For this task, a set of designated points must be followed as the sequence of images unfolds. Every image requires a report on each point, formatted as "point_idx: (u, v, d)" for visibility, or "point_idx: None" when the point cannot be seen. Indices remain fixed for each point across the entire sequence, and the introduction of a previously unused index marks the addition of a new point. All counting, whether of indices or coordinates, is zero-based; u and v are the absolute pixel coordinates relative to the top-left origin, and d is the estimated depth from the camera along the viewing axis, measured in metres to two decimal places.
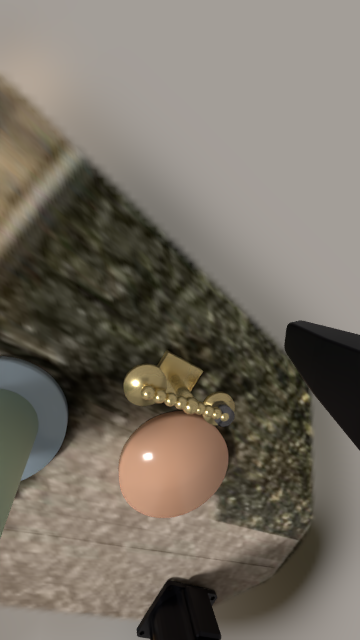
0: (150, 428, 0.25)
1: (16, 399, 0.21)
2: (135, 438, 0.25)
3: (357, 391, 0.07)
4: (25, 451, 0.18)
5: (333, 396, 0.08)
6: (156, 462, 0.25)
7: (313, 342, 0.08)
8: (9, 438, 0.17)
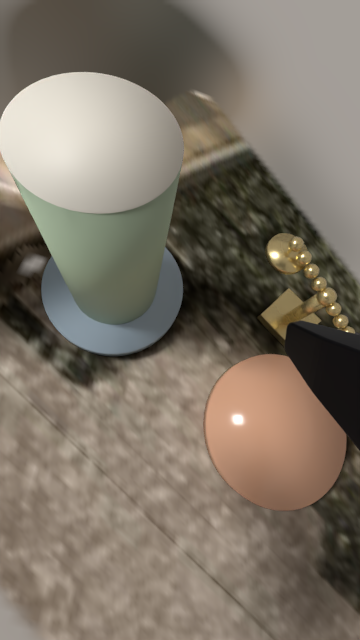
0: (259, 356, 0.21)
1: None
2: (239, 362, 0.21)
3: (357, 391, 0.07)
4: None
5: (333, 396, 0.08)
6: (257, 403, 0.20)
7: (313, 342, 0.08)
8: None
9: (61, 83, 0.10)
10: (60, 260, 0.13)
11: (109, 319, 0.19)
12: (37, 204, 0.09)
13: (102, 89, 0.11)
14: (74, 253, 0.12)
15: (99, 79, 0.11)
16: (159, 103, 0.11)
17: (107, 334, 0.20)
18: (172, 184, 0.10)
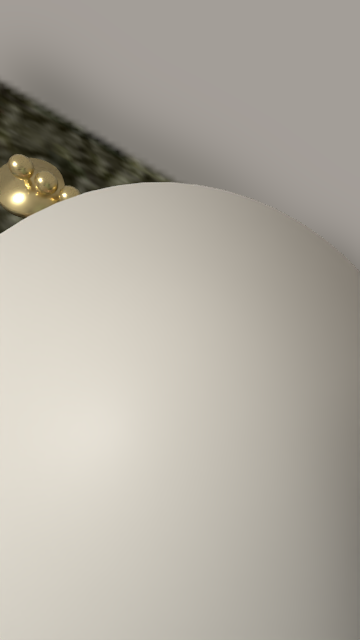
0: None
1: None
2: None
3: None
4: None
5: None
6: None
7: None
8: None
9: (85, 224, 0.04)
10: None
11: None
12: None
13: (194, 232, 0.04)
14: None
15: (183, 201, 0.04)
16: (338, 259, 0.04)
17: None
18: None
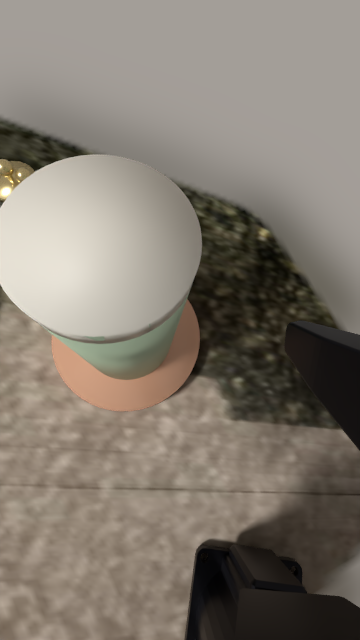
0: None
1: None
2: None
3: (357, 391, 0.07)
4: None
5: (333, 396, 0.08)
6: None
7: (313, 342, 0.08)
8: None
9: (48, 178, 0.09)
10: (77, 353, 0.12)
11: (131, 377, 0.18)
12: (51, 330, 0.08)
13: (94, 174, 0.09)
14: (95, 354, 0.10)
15: (88, 162, 0.09)
16: (161, 176, 0.09)
17: None
18: None
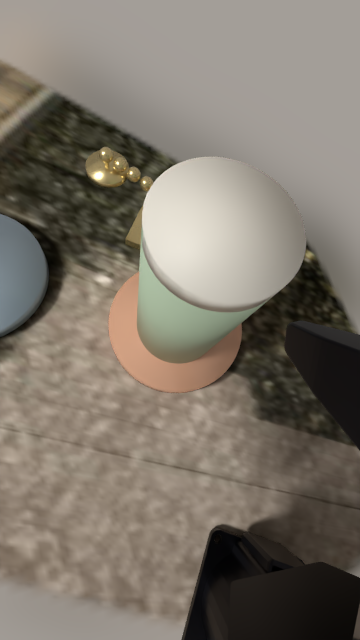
0: (136, 273, 0.23)
1: None
2: (122, 287, 0.22)
3: (357, 391, 0.07)
4: None
5: (333, 396, 0.08)
6: None
7: (313, 342, 0.08)
8: None
9: (188, 170, 0.11)
10: (162, 322, 0.14)
11: (178, 360, 0.20)
12: (177, 291, 0.10)
13: (225, 174, 0.11)
14: (188, 323, 0.12)
15: (221, 163, 0.11)
16: (276, 185, 0.11)
17: None
18: None
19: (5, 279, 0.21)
